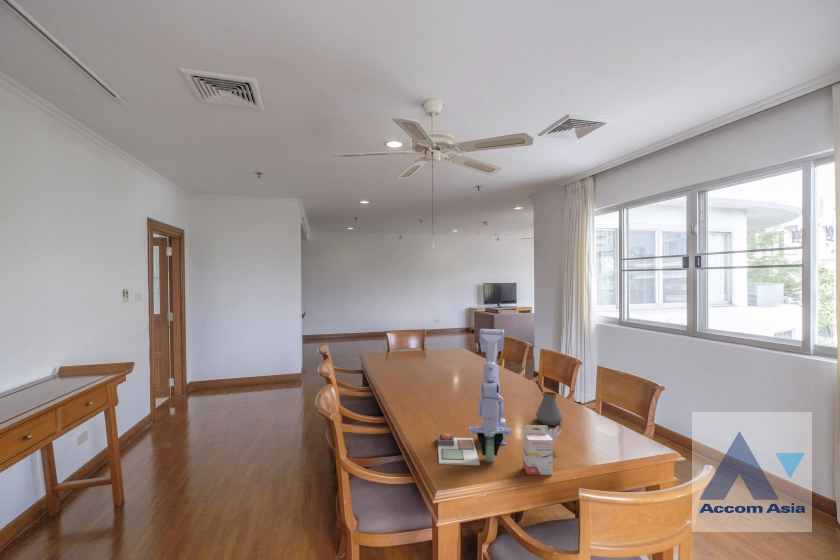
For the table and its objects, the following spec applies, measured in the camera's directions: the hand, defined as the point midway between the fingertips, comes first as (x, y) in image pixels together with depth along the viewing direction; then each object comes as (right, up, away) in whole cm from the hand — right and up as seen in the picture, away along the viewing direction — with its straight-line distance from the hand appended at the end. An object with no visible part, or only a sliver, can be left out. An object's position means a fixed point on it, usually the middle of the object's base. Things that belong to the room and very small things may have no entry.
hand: (489, 454), depth 130 cm
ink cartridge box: (+15, -2, -7) cm, 17 cm away
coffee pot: (+33, -3, +40) cm, 52 cm away
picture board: (-11, -2, +6) cm, 13 cm away
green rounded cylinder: (0, -2, 0) cm, 2 cm away
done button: (-15, 0, +12) cm, 19 cm away
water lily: (+22, -3, +7) cm, 24 cm away
